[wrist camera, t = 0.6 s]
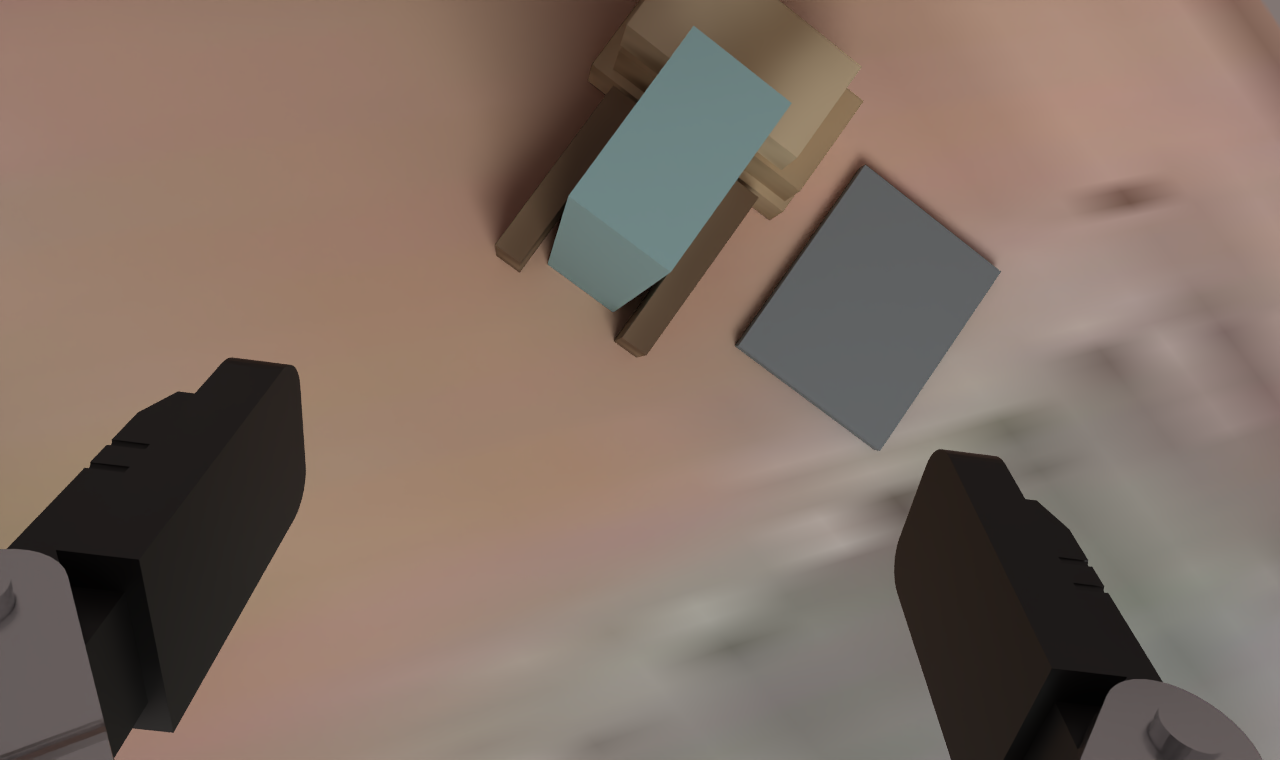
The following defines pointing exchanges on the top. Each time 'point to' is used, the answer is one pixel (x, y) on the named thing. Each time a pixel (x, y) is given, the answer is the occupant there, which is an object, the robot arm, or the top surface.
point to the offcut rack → (821, 108)
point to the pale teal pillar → (664, 172)
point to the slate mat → (868, 308)
